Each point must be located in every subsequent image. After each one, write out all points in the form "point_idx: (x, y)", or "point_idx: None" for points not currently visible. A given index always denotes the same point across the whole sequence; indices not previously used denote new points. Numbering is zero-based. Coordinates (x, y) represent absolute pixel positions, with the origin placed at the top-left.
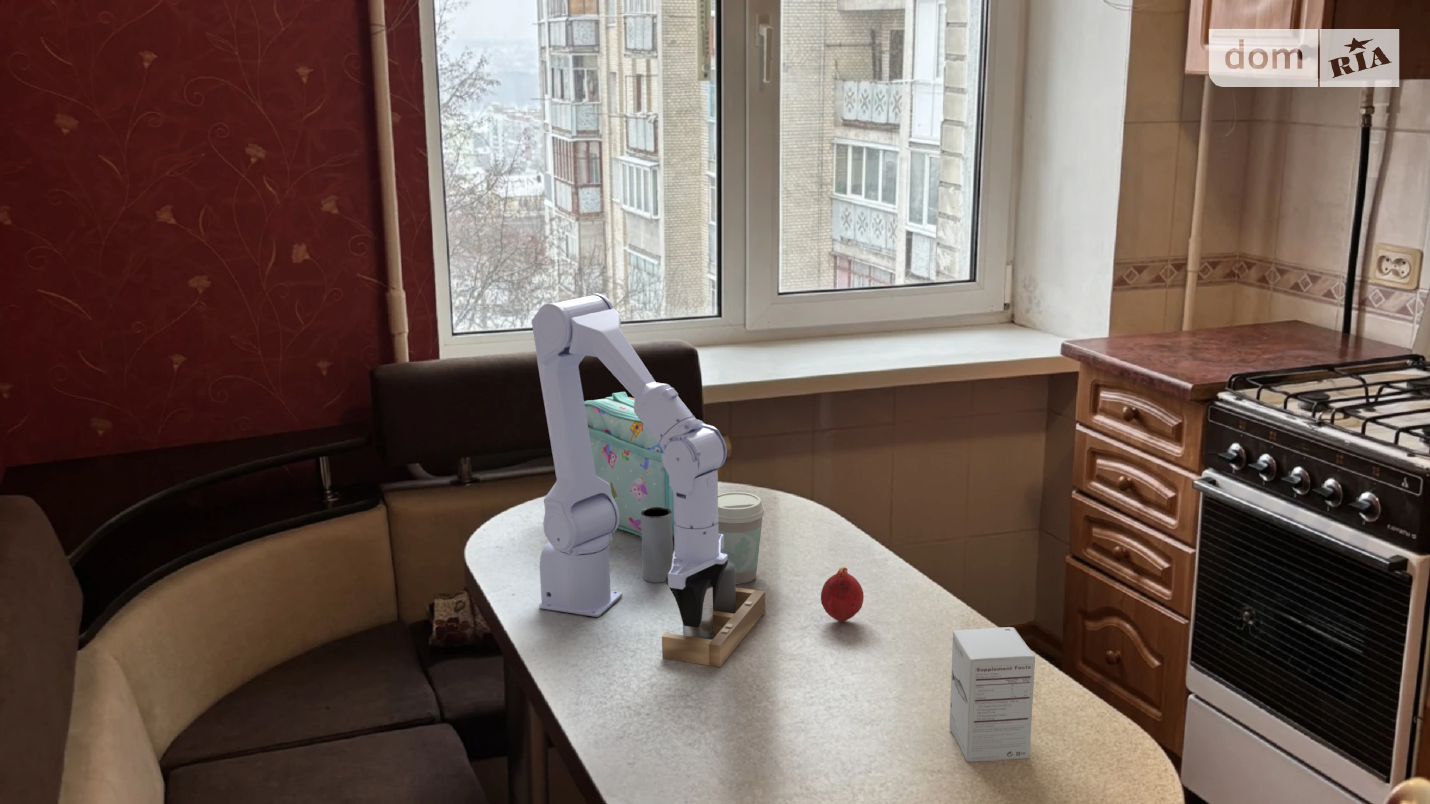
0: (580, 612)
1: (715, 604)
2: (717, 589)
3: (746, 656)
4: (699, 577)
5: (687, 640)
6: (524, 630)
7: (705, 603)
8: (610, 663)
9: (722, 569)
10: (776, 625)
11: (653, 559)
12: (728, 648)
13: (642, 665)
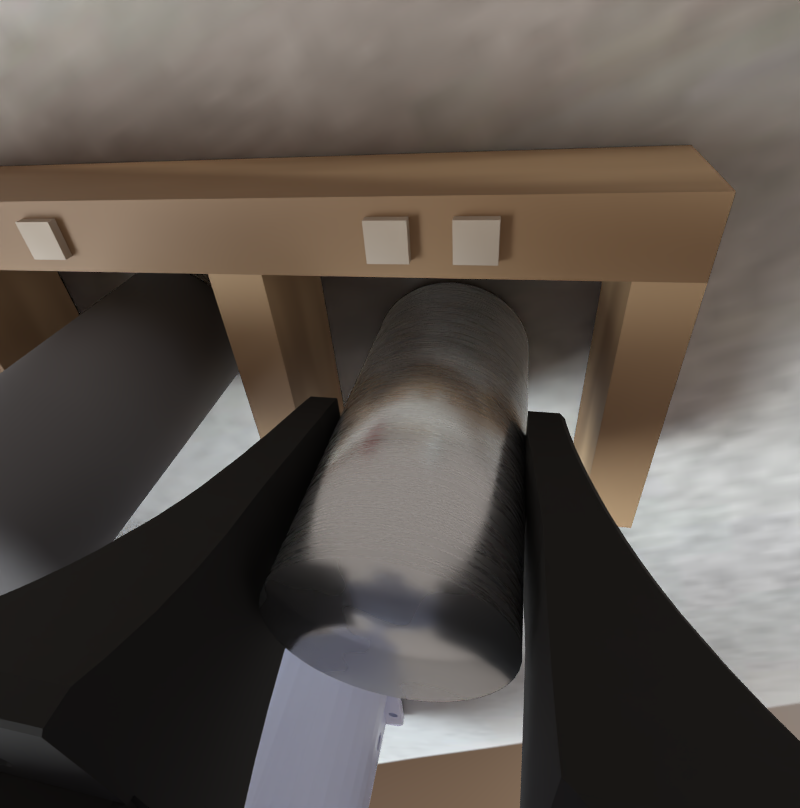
0: None
1: (190, 401)
2: (214, 479)
3: (490, 27)
4: (251, 661)
5: (663, 416)
6: (521, 726)
7: (476, 499)
8: (697, 575)
9: (89, 651)
10: (27, 21)
11: None
12: (531, 164)
13: (704, 491)
